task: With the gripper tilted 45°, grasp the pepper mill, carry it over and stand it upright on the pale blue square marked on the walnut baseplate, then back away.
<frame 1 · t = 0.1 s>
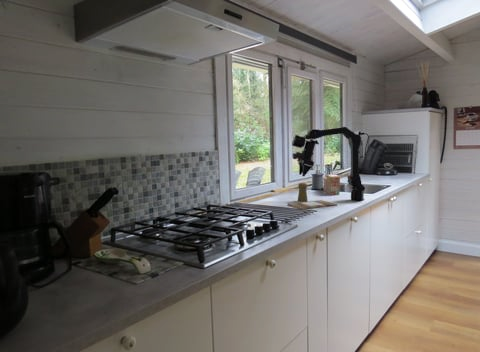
hand: (301, 175, 221), 15 cm above the worktop, tool pointing down, fingers open, 9 cm apart
pepper mill: (302, 201, 221), on the worktop
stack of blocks: (331, 192, 254), on the worktop
baseplate: (312, 205, 209), on the worktop
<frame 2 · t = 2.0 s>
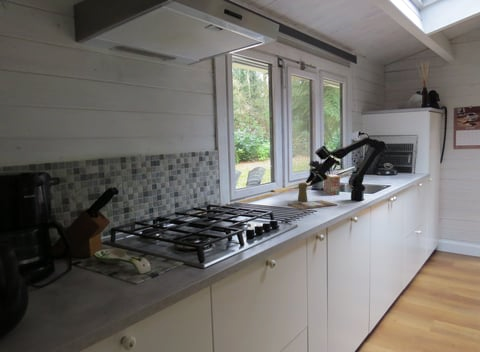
hand: (308, 183, 220), 10 cm above the worktop, tool tilted 45°, fingers open, 9 cm apart
nothing on the worktop moved.
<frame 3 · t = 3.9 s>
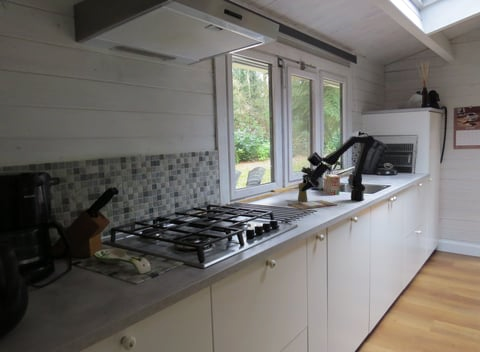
hand: (300, 190, 221), 7 cm above the worktop, tool tilted 45°, fingers closed on pepper mill, 5 cm apart
pepper mill: (302, 201, 221), on the worktop, touching gripper
everything else where it was.
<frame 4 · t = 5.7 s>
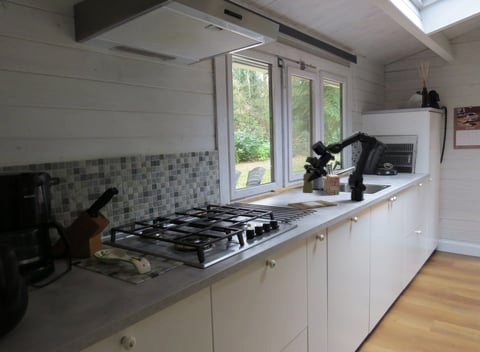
hand: (305, 181, 212), 13 cm above the worktop, tool tilted 45°, fingers closed on pepper mill, 5 cm apart
pepper mill: (307, 192, 213), point 6 cm above the worktop, touching gripper
everything else where it was.
when the fingers open (9 cm above the worktop, at t = 7.5 s): pepper mill drops 1 cm, resting on baseplate.
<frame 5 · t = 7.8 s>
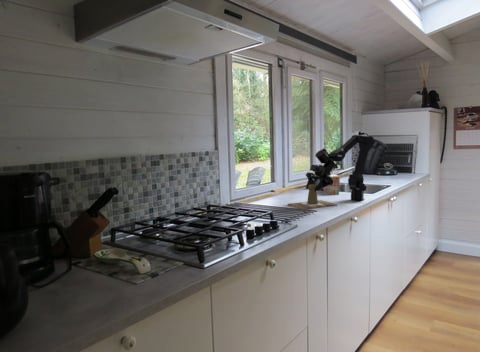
hand: (310, 189, 207), 9 cm above the worktop, tool tilted 45°, fingers open, 8 cm apart
pepper mill: (312, 203, 209), point 1 cm above the worktop, touching baseplate
everything else where it was.
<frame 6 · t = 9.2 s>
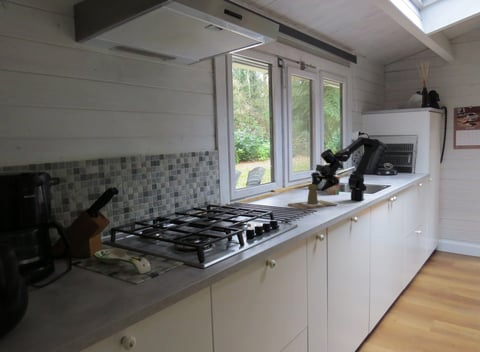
hand: (316, 189, 209), 9 cm above the worktop, tool tilted 45°, fingers open, 9 cm apart
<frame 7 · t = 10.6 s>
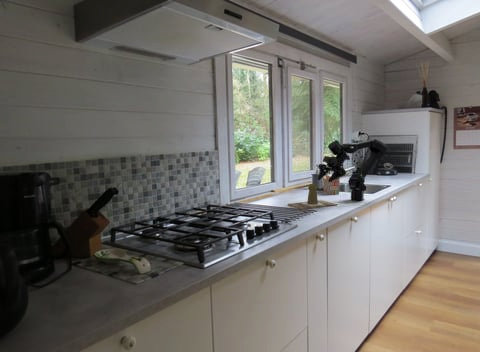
hand: (323, 180, 211), 14 cm above the worktop, tool tilted 45°, fingers open, 9 cm apart
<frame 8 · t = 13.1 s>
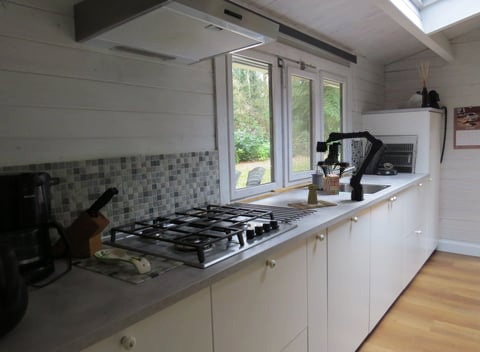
hand: (332, 178, 227), 13 cm above the worktop, tool pointing down, fingers open, 9 cm apart
at the end: pepper mill inside the target area on the baseplate (0.1 cm from its centre), point 0.8 cm above the baseplate's base; pepper mill tilted 0°; pepper mill touching baseplate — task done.
